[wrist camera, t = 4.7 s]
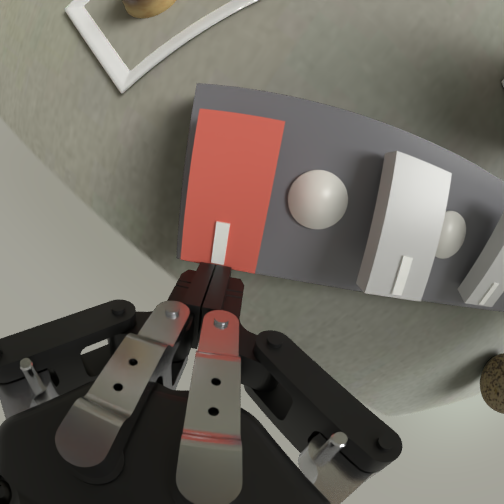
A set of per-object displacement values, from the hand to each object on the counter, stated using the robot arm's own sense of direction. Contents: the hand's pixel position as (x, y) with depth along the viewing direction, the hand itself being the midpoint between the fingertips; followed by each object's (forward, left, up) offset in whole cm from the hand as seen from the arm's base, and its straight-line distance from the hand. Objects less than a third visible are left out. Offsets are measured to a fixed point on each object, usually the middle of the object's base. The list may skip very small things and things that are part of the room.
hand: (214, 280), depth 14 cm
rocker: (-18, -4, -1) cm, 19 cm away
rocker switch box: (-11, -4, -7) cm, 14 cm away
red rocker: (0, -4, -1) cm, 4 cm away
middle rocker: (-9, -4, -1) cm, 10 cm away
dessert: (+9, -17, -8) cm, 21 cm away
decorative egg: (-37, +11, -7) cm, 40 cm away
